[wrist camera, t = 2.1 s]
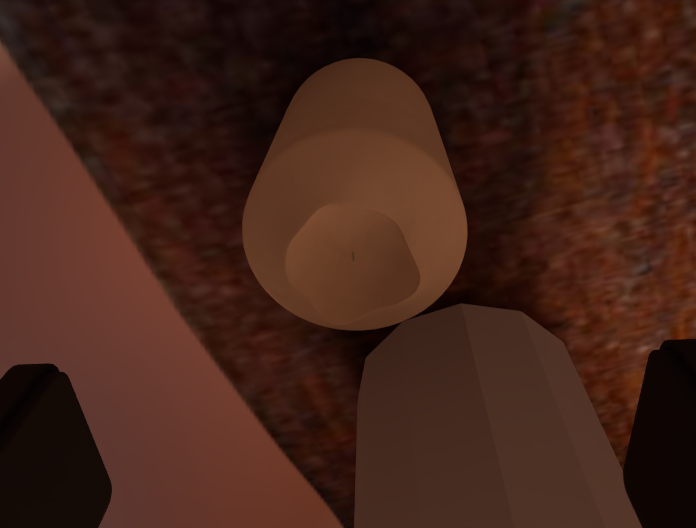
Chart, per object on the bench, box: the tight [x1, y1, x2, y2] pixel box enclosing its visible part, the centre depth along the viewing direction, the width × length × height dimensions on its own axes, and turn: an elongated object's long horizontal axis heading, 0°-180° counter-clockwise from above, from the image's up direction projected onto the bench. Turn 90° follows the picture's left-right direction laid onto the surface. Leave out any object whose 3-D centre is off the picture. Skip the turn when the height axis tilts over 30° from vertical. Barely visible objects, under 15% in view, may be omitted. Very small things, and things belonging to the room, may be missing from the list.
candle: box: [242, 58, 467, 330], centre depth 17 cm, size 6×6×10 cm
